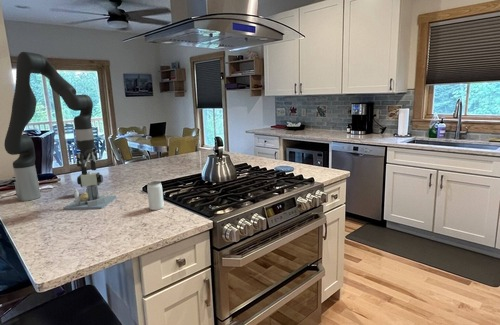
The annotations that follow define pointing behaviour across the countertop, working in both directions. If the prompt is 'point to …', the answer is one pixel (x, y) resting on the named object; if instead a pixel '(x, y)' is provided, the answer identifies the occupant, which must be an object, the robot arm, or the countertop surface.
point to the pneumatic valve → (90, 179)
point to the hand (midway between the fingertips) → (89, 172)
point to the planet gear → (92, 193)
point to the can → (155, 195)
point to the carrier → (93, 204)
